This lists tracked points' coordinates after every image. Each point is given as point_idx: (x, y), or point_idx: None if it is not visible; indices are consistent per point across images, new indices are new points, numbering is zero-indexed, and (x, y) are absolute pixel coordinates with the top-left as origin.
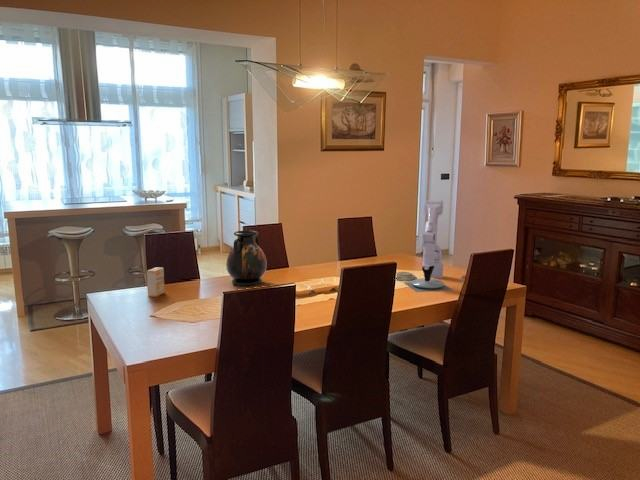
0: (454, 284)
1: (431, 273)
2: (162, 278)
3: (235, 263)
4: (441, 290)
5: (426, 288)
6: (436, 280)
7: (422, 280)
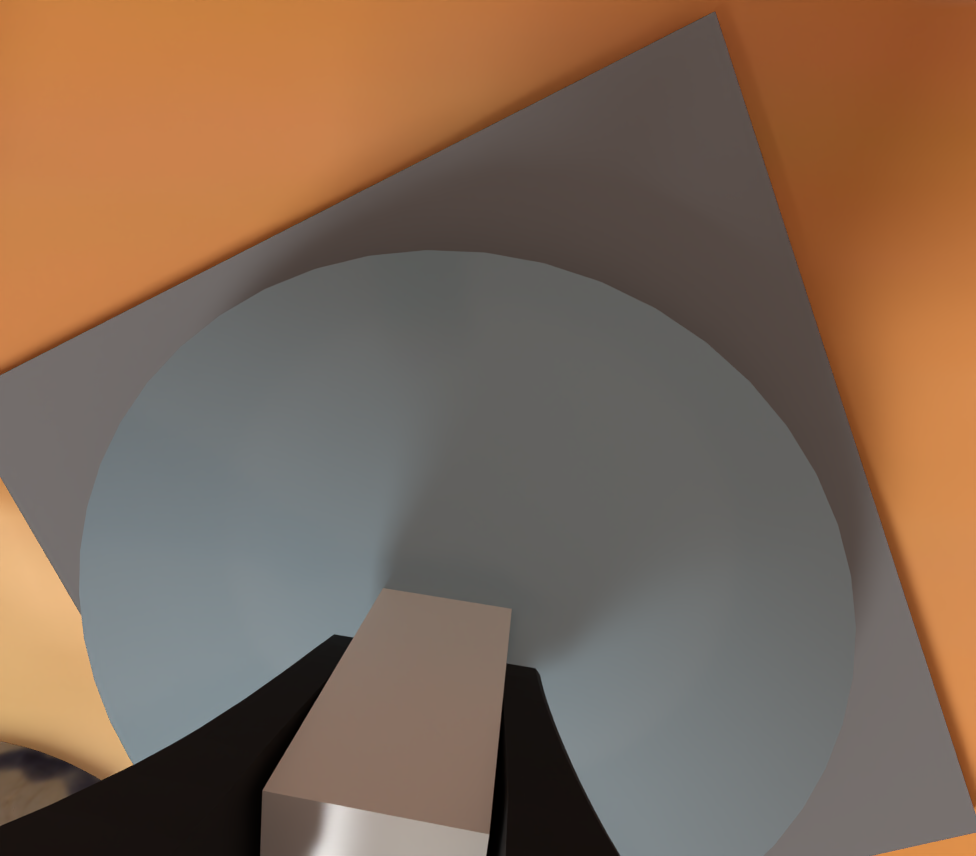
0: (75, 14)
1: (260, 753)
2: None
3: None
4: (799, 327)
5: None
6: (172, 449)
7: None
